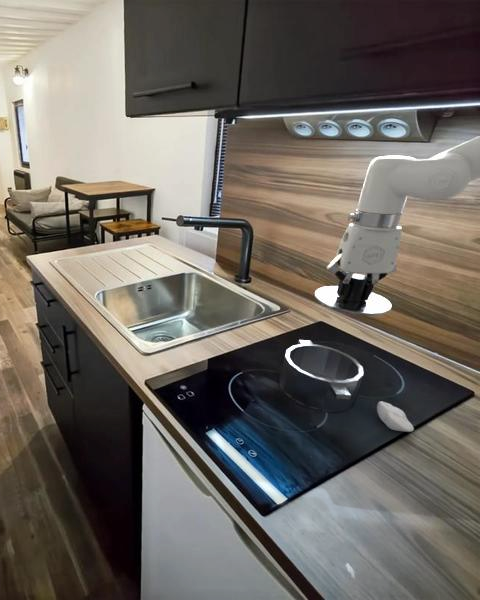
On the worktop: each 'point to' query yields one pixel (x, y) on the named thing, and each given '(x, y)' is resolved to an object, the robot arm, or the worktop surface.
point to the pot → (320, 377)
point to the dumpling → (393, 417)
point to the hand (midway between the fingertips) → (352, 297)
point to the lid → (354, 299)
